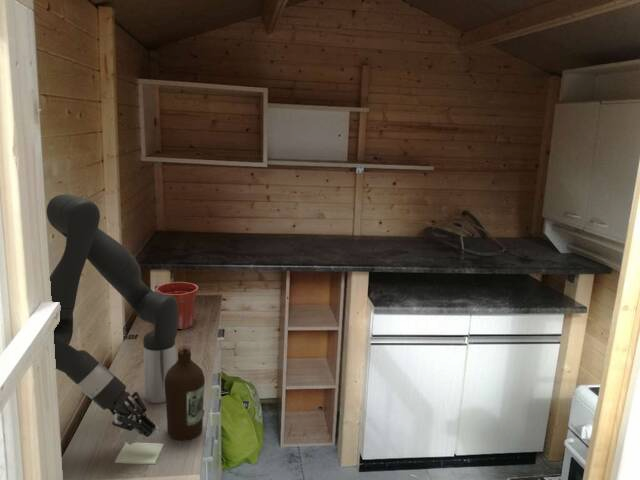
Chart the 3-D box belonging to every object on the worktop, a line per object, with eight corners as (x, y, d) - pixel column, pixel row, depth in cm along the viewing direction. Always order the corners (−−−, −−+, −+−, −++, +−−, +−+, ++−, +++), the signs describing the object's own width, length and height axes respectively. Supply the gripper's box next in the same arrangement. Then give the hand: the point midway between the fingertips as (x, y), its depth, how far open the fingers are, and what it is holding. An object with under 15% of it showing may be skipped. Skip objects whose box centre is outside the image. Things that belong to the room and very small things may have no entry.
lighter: (118, 435, 137) (139, 416, 136) (120, 431, 138) (141, 412, 137) (139, 452, 138) (160, 433, 137) (141, 448, 140) (162, 429, 139)
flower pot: (164, 316, 231) (163, 280, 227) (202, 318, 230) (202, 282, 226) (151, 331, 214) (150, 293, 211) (192, 333, 214) (191, 295, 210)
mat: (126, 443, 143) (125, 442, 142) (163, 445, 143) (163, 443, 143) (114, 462, 135) (114, 461, 135) (154, 464, 135) (154, 462, 135)
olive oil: (157, 434, 147) (155, 349, 142) (183, 416, 157) (183, 336, 151) (186, 446, 143) (185, 359, 137) (212, 427, 152) (212, 345, 146)
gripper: (101, 390, 128) (154, 438, 131) (121, 364, 141) (169, 408, 144) (79, 409, 129) (132, 456, 132) (102, 381, 142) (149, 425, 145)
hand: (151, 431), depth 138 cm, fingers closed
